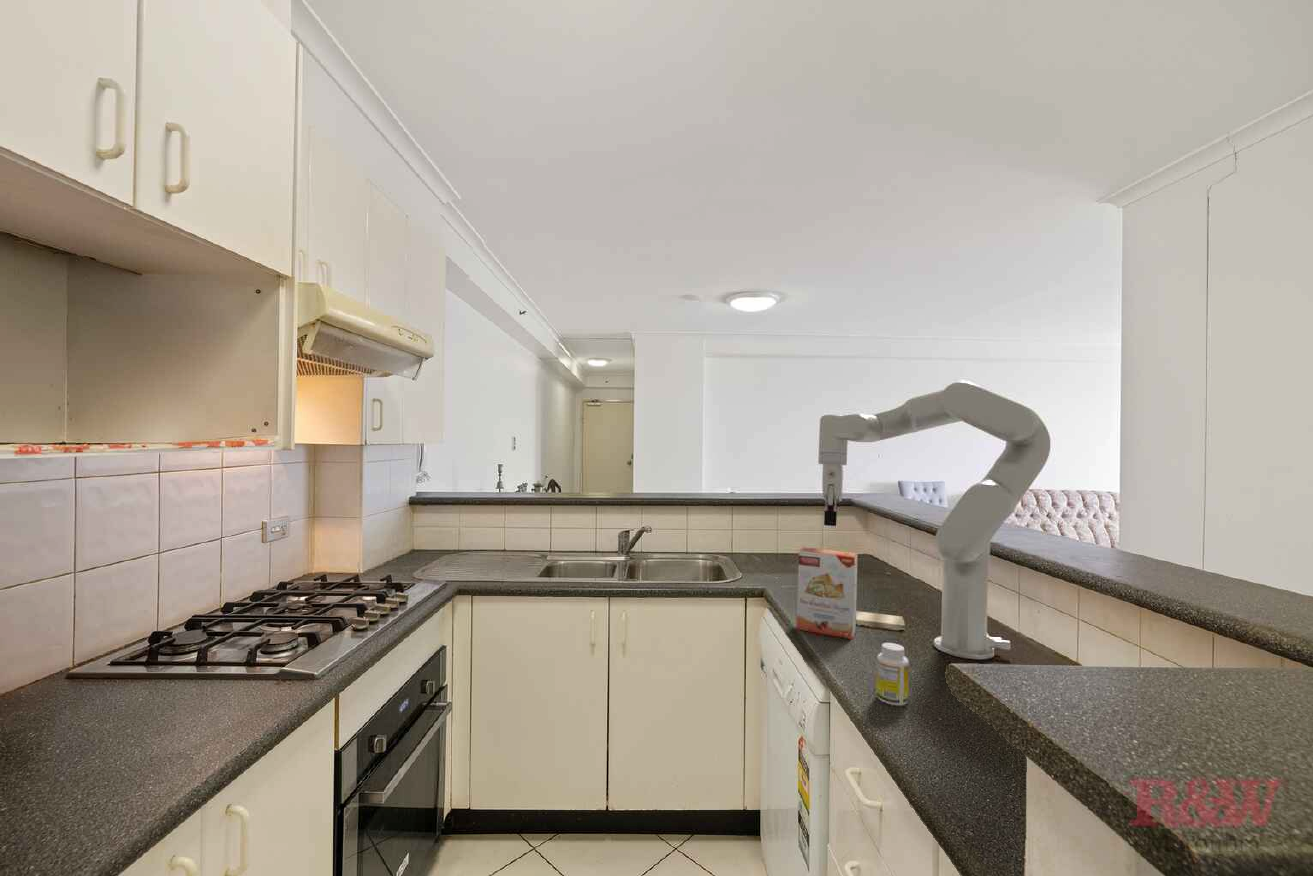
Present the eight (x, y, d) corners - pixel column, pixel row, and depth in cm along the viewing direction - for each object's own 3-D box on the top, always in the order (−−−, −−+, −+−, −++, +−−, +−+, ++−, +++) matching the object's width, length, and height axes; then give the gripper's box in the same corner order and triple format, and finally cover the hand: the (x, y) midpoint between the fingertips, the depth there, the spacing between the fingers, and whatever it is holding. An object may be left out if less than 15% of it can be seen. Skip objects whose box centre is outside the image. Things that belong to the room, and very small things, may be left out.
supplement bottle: (898, 693, 108) (899, 640, 108) (914, 707, 102) (915, 651, 102) (870, 693, 107) (872, 641, 107) (885, 707, 102) (886, 652, 102)
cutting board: (902, 622, 152) (902, 616, 152) (904, 631, 144) (905, 625, 144) (856, 616, 156) (856, 611, 156) (856, 625, 148) (856, 619, 148)
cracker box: (795, 630, 143) (797, 549, 143) (801, 624, 148) (803, 546, 148) (852, 640, 136) (854, 556, 136) (856, 633, 142) (858, 552, 142)
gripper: (846, 460, 145) (844, 530, 145) (847, 459, 159) (844, 522, 159) (816, 459, 147) (814, 528, 147) (819, 458, 161) (817, 520, 161)
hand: (830, 525), depth 153 cm, fingers closed
